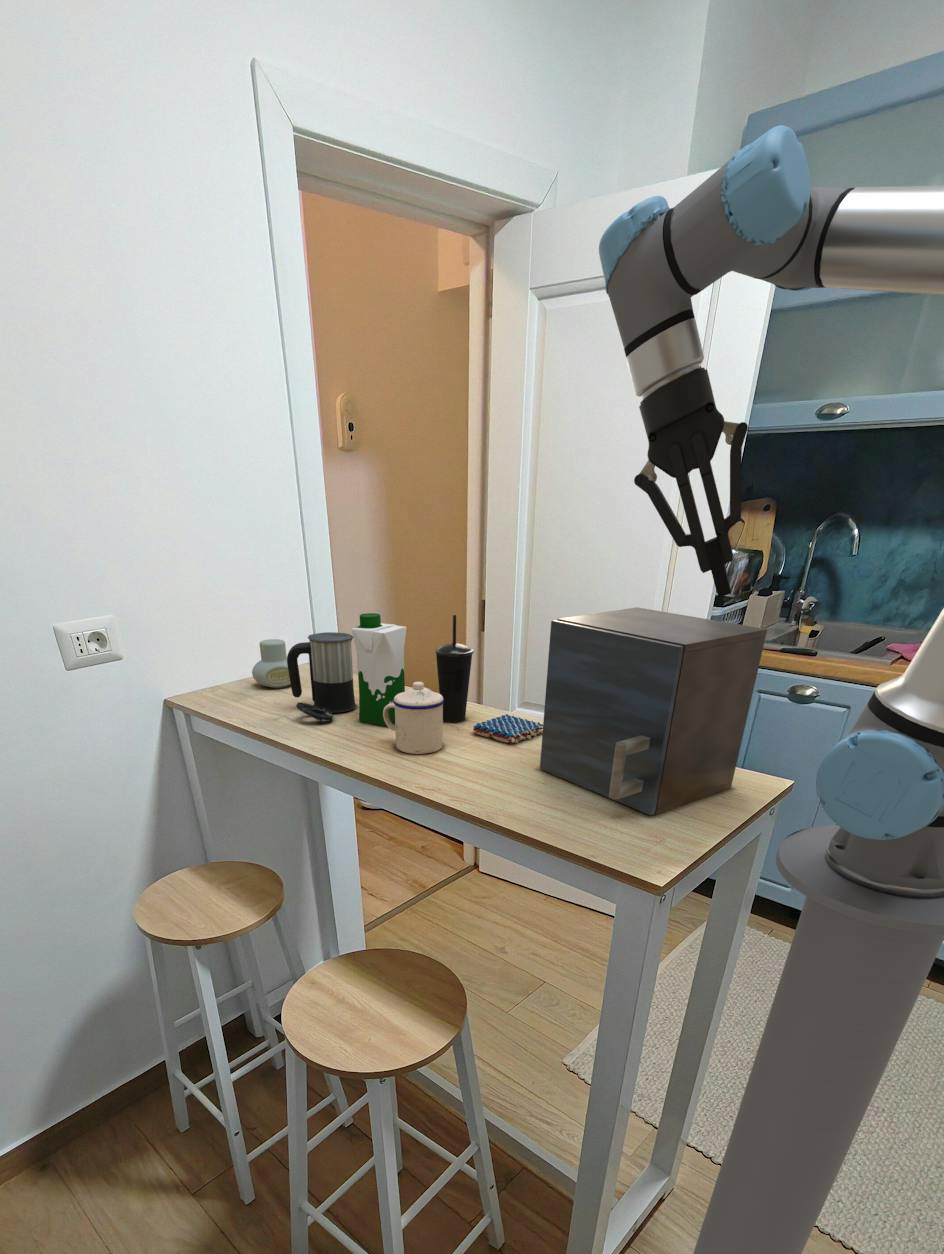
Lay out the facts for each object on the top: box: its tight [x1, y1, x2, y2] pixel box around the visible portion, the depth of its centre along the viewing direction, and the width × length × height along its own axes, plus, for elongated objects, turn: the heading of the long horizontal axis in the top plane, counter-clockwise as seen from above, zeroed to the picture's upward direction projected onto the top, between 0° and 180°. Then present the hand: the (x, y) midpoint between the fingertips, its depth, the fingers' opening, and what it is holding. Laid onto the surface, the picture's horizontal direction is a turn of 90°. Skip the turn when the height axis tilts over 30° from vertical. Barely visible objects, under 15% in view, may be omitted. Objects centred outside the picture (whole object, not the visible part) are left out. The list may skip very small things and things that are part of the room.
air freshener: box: [251, 638, 291, 689], centre depth 167 cm, size 11×8×10 cm
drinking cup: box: [434, 614, 475, 724], centre depth 140 cm, size 8×8×20 cm
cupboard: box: [556, 607, 768, 816], centre depth 111 cm, size 18×24×24 cm
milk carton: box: [351, 612, 407, 728], centre depth 140 cm, size 9×9×20 cm
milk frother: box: [286, 631, 357, 723], centre depth 146 cm, size 14×16×15 cm
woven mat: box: [472, 713, 543, 744], centre depth 137 cm, size 10×11×2 cm
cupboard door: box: [539, 619, 684, 817], centre depth 105 cm, size 7×24×24 cm, turn 35°
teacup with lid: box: [383, 681, 444, 755], centre depth 128 cm, size 12×9×12 cm
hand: (724, 593), depth 88 cm, fingers closed
